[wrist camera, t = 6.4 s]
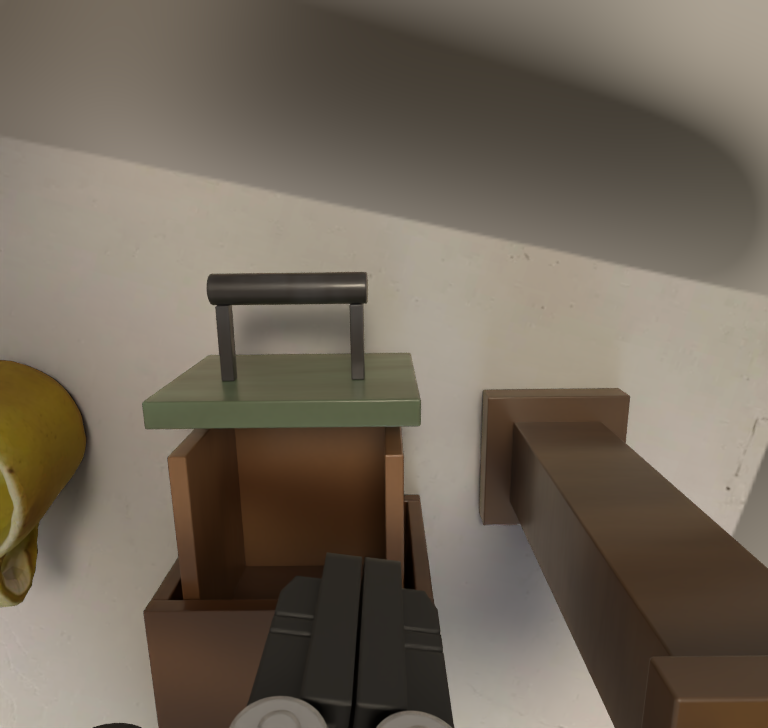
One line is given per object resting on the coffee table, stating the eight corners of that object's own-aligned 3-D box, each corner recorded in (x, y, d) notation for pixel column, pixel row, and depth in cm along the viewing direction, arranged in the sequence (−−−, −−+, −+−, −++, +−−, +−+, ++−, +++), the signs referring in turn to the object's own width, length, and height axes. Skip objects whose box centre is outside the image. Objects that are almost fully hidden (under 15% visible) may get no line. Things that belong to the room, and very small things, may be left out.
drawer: (200, 266, 30) (126, 281, 21) (410, 264, 30) (421, 277, 21) (227, 566, 34) (174, 679, 26) (410, 564, 34) (419, 677, 25)
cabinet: (216, 496, 34) (142, 611, 24) (419, 494, 34) (435, 609, 24) (233, 692, 37) (176, 867, 27) (418, 690, 37) (432, 865, 27)
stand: (482, 389, 32) (676, 699, 11) (618, 387, 32) (1079, 695, 11) (478, 512, 34) (637, 983, 13) (607, 511, 34) (980, 980, 13)
